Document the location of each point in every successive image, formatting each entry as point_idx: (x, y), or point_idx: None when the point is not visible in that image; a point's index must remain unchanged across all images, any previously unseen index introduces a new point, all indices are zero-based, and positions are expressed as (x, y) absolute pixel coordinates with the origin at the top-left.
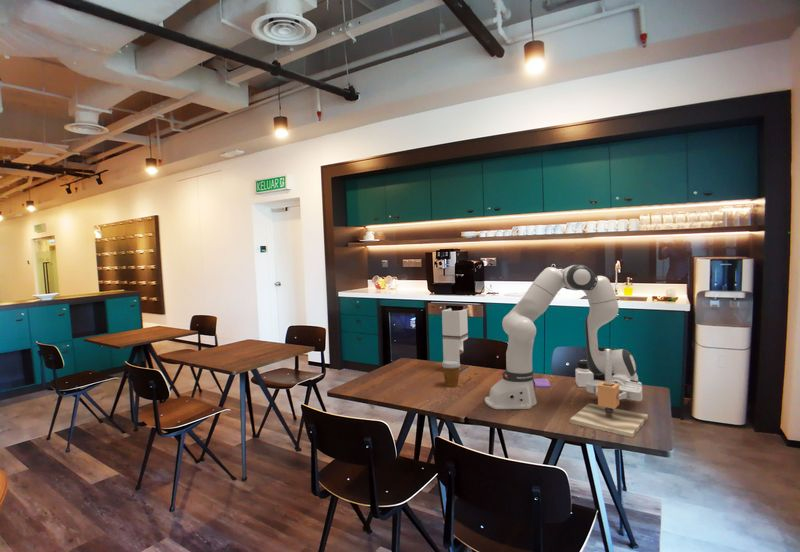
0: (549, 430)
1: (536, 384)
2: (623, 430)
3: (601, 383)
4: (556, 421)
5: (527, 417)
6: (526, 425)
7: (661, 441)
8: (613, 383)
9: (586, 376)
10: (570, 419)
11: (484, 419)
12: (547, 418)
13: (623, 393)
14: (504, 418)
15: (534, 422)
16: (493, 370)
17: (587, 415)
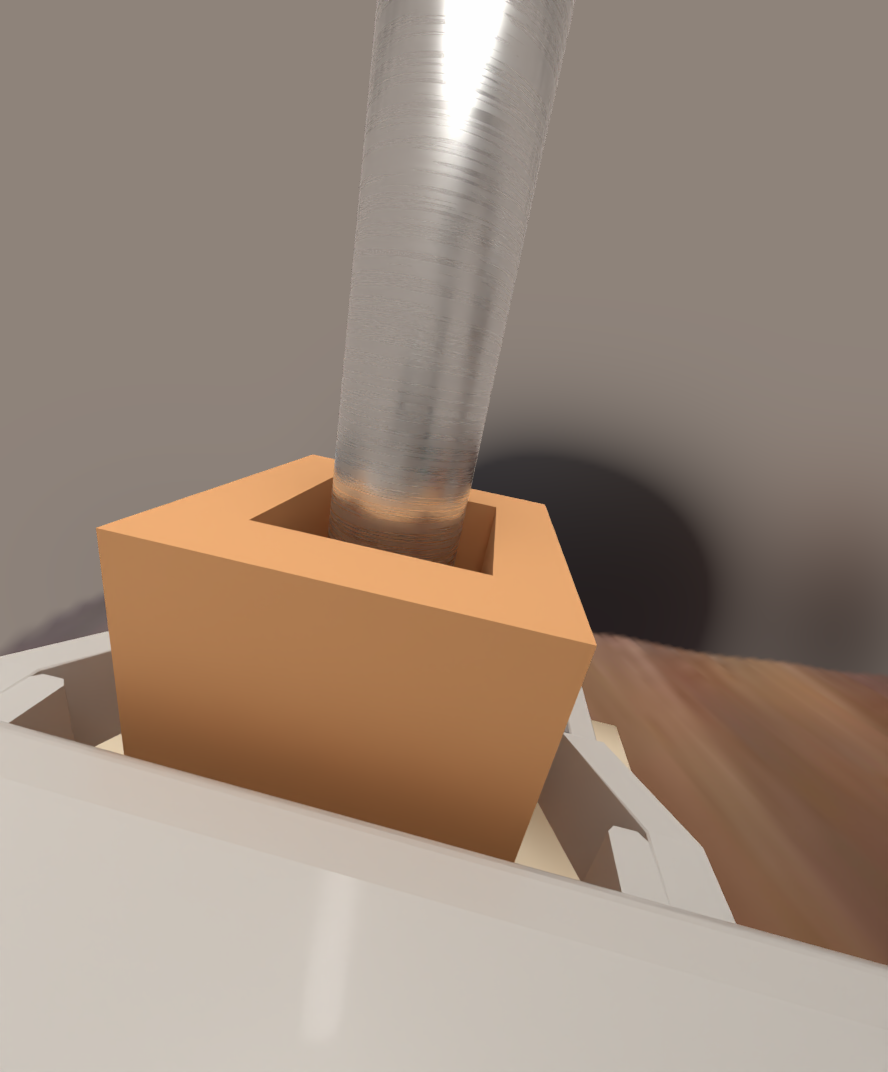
0: (614, 642)
1: None
2: None
3: (534, 541)
4: (681, 747)
5: (838, 753)
6: (722, 663)
7: (43, 643)
8: (267, 549)
9: None
10: (609, 726)
11: (882, 675)
12: (762, 778)
13: (87, 639)
14: (867, 705)
15: (738, 699)
16: None
17: (556, 861)
